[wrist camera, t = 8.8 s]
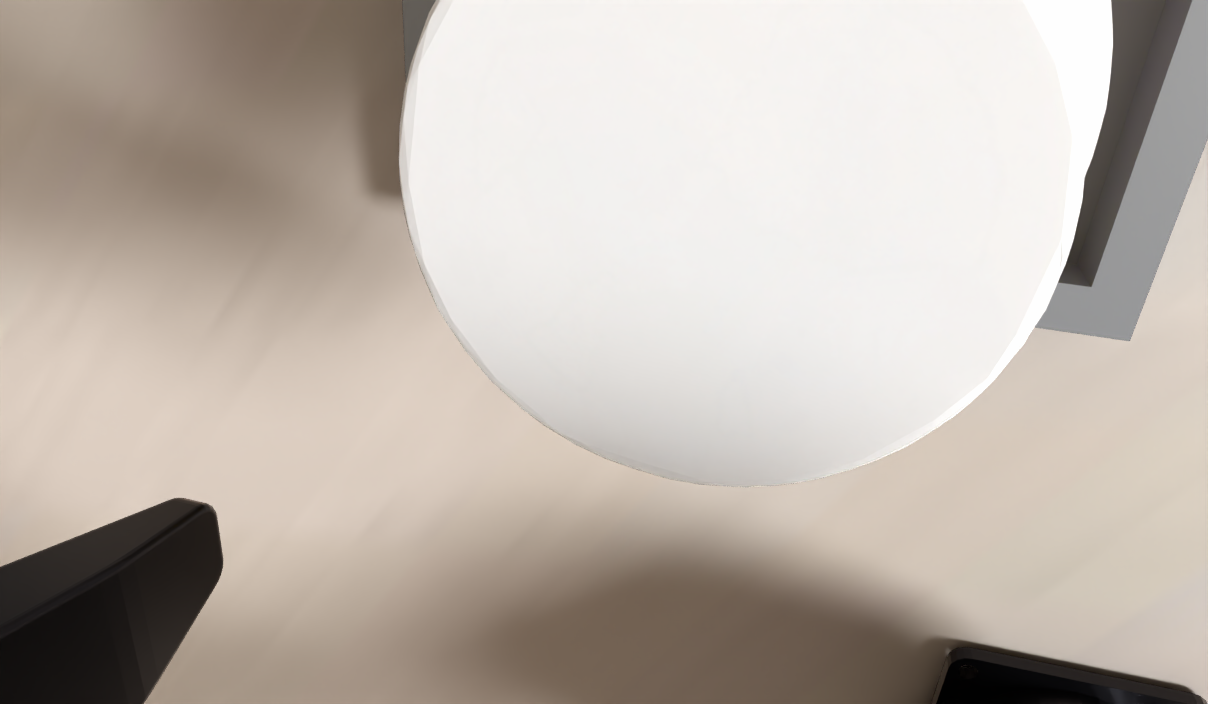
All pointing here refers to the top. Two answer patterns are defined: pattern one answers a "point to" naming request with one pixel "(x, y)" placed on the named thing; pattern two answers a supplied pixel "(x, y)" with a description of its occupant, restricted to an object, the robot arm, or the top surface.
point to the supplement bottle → (748, 213)
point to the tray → (1110, 161)
